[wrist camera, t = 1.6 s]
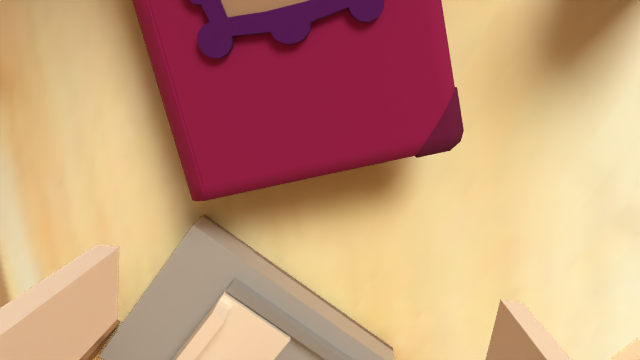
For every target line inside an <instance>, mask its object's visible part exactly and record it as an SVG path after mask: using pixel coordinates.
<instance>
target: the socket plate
mask: <svg viewBox="0 0 640 360" xmlns="http://www.w3.org/2000/svg"><path fill="white" fill-rule="evenodd" d="M225 290H226V292H228V293H229V294H231V295H232V296H234V297H235V298H237V299H238V300H240V301H241V302H242V303H244V304H245V305H247V306H248V307H250V308H251V309H253V310H254V311H256V312H257V313H258V314H260V315H261V316H263V317H264V318H266V319H267V320H269V321H270V322H272V323H273V324H274V325H276V326H277V327H279V328H280V329H282V330H283V331H285V332H286V333H288V334H289V335H290V336H291V339H290V341H289V342H288V343H287V345H286V346H285V347H284V348H283V349H282V351H281V352H280V353H279V354H278V355H277V357H276V358H275V359H274V360H395V357H394V353H393V348H392V347H391V346H389V345H388V344H386V343H385V342H384V341H382V340H381V339H379V338H378V337H377V336H375V335H374V334H372V333H371V332H369V331H368V330H367V329H365V328H364V327H362V326H361V325H360V324H358V323H357V322H355V321H354V320H352V319H351V318H350V317H348V316H347V315H345V314H344V313H343V312H341V311H340V310H338V309H337V308H336V307H334V306H333V305H331V304H330V303H328V302H327V301H326V300H324V299H323V298H321V297H320V296H319V295H317V294H316V293H314V292H313V291H311V290H310V289H309V288H307V287H306V286H304V285H303V284H302V283H300V282H299V281H297V280H296V279H294V278H293V277H292V276H290V275H289V274H287V273H286V272H285V271H283V270H282V269H280V268H279V267H277V266H276V265H275V264H273V263H272V262H270V261H269V260H268V259H266V258H265V257H263V256H262V255H260V254H259V253H258V252H256V251H255V250H253V249H252V248H251V247H249V246H248V245H246V244H245V243H243V242H242V241H241V240H239V239H238V238H236V237H235V236H234V235H232V234H231V233H229V232H228V231H226V230H225V229H224V228H222V227H221V226H219V225H218V224H217V223H215V222H214V221H212V220H211V219H210V218H208V217H207V216H205V215H203V216H202V217H201V218H200V219H199V220H198V221H197V222H196V223H195V224H194V225H193V226H192V227H191V229H190V230H189V231H188V233H187V234H186V236H185V237H184V238H183V240H182V241H181V243H180V244H179V245H178V247H177V248H176V250H175V251H174V252H173V254H172V255H171V256H170V258H169V259H168V261H167V262H166V263H165V265H164V266H163V268H162V269H161V270H160V272H159V273H158V275H157V276H156V277H155V279H154V280H153V282H152V283H151V284H150V286H149V287H148V289H147V290H146V291H145V293H144V294H143V295H142V297H141V298H140V300H139V301H138V302H137V304H136V305H135V307H134V308H133V309H132V311H131V312H130V314H129V315H128V316H127V318H126V319H125V321H124V322H123V323H122V325H121V326H120V328H119V329H118V330H117V332H116V333H115V334H114V336H113V337H112V339H111V340H110V341H109V343H108V344H107V346H106V347H105V348H104V350H103V351H102V353H101V354H100V355H99V357H100V358H102V359H103V360H172V359H173V358H174V356H175V355H176V354H177V353H178V351H179V350H180V349H181V347H182V346H183V345H184V343H185V342H186V341H187V340H188V338H189V337H190V336H191V334H192V333H193V332H194V330H195V329H196V328H197V327H198V325H199V324H200V323H201V321H202V320H203V319H204V317H205V316H206V315H207V314H208V312H209V311H210V310H211V308H212V307H213V306H214V304H215V303H216V302H217V301H218V299H219V298H220V297H221V295H222V294H223V293H224V291H225Z"/></svg>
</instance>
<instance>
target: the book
mask: <svg viewBox="0 0 640 360" xmlns="http://www.w3.org/2000/svg"><path fill="white" fill-rule="evenodd" d="M132 1H133V4H134V8H135V11H136V14H137V18H138V21H139V24H140V28H141V31H142V34H143V38H144V41H145V44H146V47H147V51H148V54H149V57H150V61H151V64H152V67H153V71H154V74H155V77H156V81H157V84H158V87H159V91H160V94H161V97H162V101H163V104H164V107H165V111H166V114H167V117H168V121H169V124H170V127H171V131H172V134H173V137H174V140H175V144H176V147H177V150H178V154H179V157H180V160H181V164H182V167H183V170H184V174H185V177H186V180H187V184H188V187H189V190H190V194H191V197H192V200H194V201H205V200H210V199H215V198H219V197H224V196H229V195H233V194H238V193H243V192H247V191H252V190H257V189H261V188H266V187H271V186H275V185H280V184H285V183H289V182H294V181H299V180H303V179H308V178H313V177H317V176H322V175H327V174H331V173H336V172H341V171H345V170H350V169H355V168H359V167H364V166H369V165H373V164H378V163H383V162H387V161H392V160H397V159H401V158H406V157H411V156H415V157H417V158H418V157H422V156H427V155H432V154H436V153H441V152H446V151H450V150H451V149H452V148H453V147H455V146H456V145H457V144H458V143H459V142H460V141H461V138H462V134H463V131H464V130H463V123H462V117H461V110H460V104H459V97H458V91H457V87H455V86H454V79H453V73H452V67H451V60H450V54H449V47H448V41H447V34H446V28H445V22H444V15H443V9H442V2H441V0H132Z"/></svg>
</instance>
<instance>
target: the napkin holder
mask: <svg viewBox="0 0 640 360" xmlns="http://www.w3.org/2000/svg"><path fill="white" fill-rule="evenodd" d="M609 360H640V339H638V338H637V339H636V340H634V341H633V342H632V343H630V344H629V345H628V346H626V347H625V348H624V349H622V350H621V351H620V352H618V353H617V354H616V355H614V356H613V357H612V358H610V359H609Z"/></svg>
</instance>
